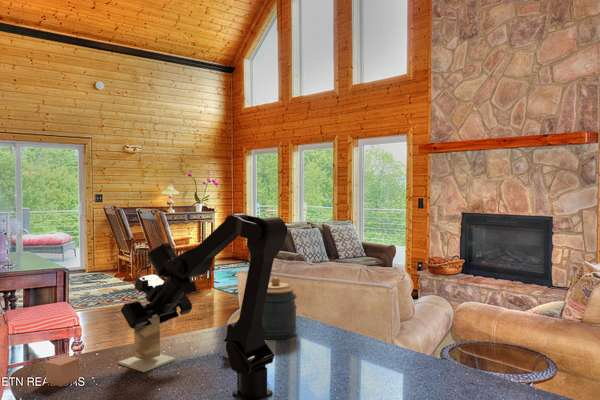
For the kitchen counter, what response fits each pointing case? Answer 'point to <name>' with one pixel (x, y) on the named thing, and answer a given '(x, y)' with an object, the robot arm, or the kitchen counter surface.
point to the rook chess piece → (225, 348)
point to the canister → (279, 311)
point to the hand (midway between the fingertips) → (143, 327)
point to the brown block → (148, 339)
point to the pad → (146, 362)
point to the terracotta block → (62, 370)
